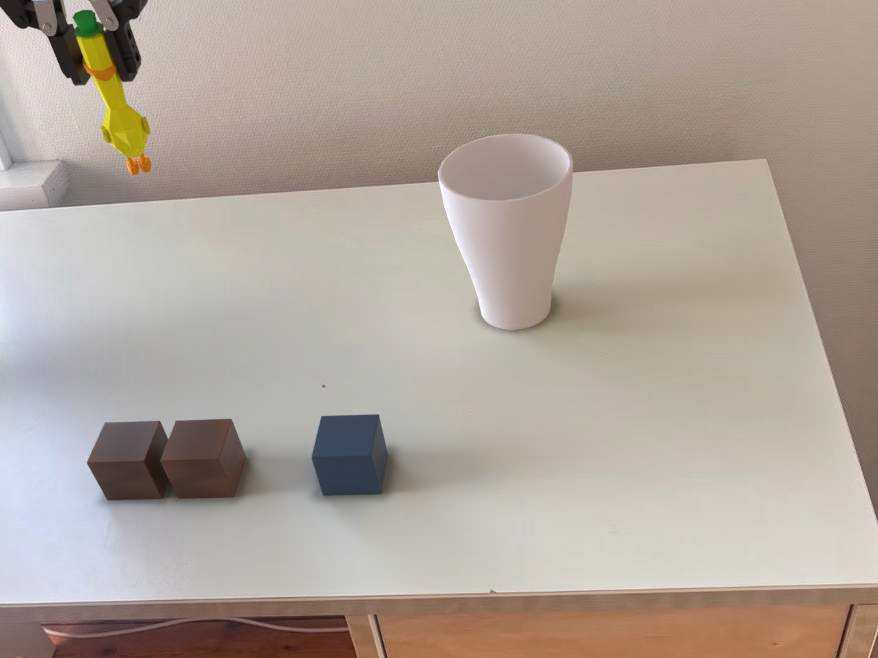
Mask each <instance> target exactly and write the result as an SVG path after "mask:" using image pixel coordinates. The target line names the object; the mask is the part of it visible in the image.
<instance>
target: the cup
mask: <svg viewBox="0 0 878 658" xmlns="http://www.w3.org/2000/svg"><path fill="white" fill-rule="evenodd" d="M572 157H573V156H572V154H571V153H570V152H569V150H567V148H565V146H564V145H563V144H561V143H558V142H557V141H555V140H554V139H550V138H547V137H544V136H541V135H535V134H529V133H528V134H527V133H502V134H494V135H489V136H485V137H481V138H476V139H473V140H472V141H470V142H467V143H464V144H462V145H460V146H459V147H457V148H455V149H454V150H452V151H451V152H449V154H448V155H447V156H445V158H443V160H442V161H441V164H440V166H439V168H438V171H437V177H438V183H439V188H440V192H441V198H442V202H443V207H444V210H445V214H446V216H447V219H448V222H449V226H450V228H451V231H452V234H453V237H454V241H455V243H456V245H457V248H458V250H459V252H460V254H461V257H462V259H463V261H464V263H465V265H466V268H467V270H468V272H469V276H470V279H471V281H472V284H473V287H474V289H475V292H476V295H477V301H478V304H479V305H478V306H479V310H480V314H481V316H482V318H483V320H484V321H485V322H486V323H488V325H490V326H493V327H495V328H497V329H501V330H507V331H511V330H512V331H515V330H516V331H517V330H524V329H528V328H531V327H534V326H536V325H538V324H540V323H542V322H543V321H544V320H545V319H546V318H547V316H548V315H549V314H550V312H551V311H550V310H551V307H552V294H553V283H554V279H555V278H554V277H555V272H556V268H557V263H558V258H559V254H560V252H561V247H562V244H563V239H564V236H565V231H566V228H567V227H566V226H567V222H568V216H569V209H570V204H571V200H572V199H571V198H572V193H573V179H574V178H573V177H574V176H573V175H574V161H573V158H572Z"/></svg>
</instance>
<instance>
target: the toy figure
mask: <svg viewBox="0 0 878 658" xmlns="http://www.w3.org/2000/svg"><path fill="white" fill-rule="evenodd" d="M72 19H73V21H74V24H75V25H76V27H74V29H75V30H74V33H75V35H76V36H77V37H76V39H77V41H78V44H79V47H80V49H81V52H82V55H83V59H82V60H83V66H84V67H85V69H86V71H87V73H89V74H90V75H91V77H90V78H91V79H92V80H93V83H94V85H95V87H96V89H97V90H98V93H99V95H100V96H101V99H102V100H103V102H104V104H105V107H106V110H105V114H104V118H103V121H102V124H101V126H100V131H101V135H102V137H103V140H104V141H105V143H107V144H109V145H111V146H112V147H113V148H114V149H115V150H117V151H118V152H119V153H120V154H121V155H123V156H125V158H126V160H125V161H124V162H125V165H126V168H127V170H128V172H129V173H130V174H131V175H132V176H136V175H139V174H140V169H141V171H142V173H143V174H146V173H150V172H151V170H152V169H151V168H152V161H151V159H150V156H149V155H145V153H144V152H145V149H146V146H147V143H148V142H147V141H148V139H149V135H151V128H150V125H149V122H148V119H147V117H146V116H143V115H142V114H140V113H139V112H138V111H137V110H135V109H134V108H133V107H132V106H130V105H129V104H128V103H127V99H126V95H125V90H124V86H123V82H122V81H121V79H120V76H119V74H118V71H117V68H116V65H115V63H114V60H113V57H112V55H111V52H110V49H109V46H108V44H107V41H106V38H105V35H104V31H105V30H106V29H105V27H104V26H103V25H102V23H101V21H97V16H96V12H94V10H92V9H82V10H79V11H77V12H74V14H73V15H72Z"/></svg>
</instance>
